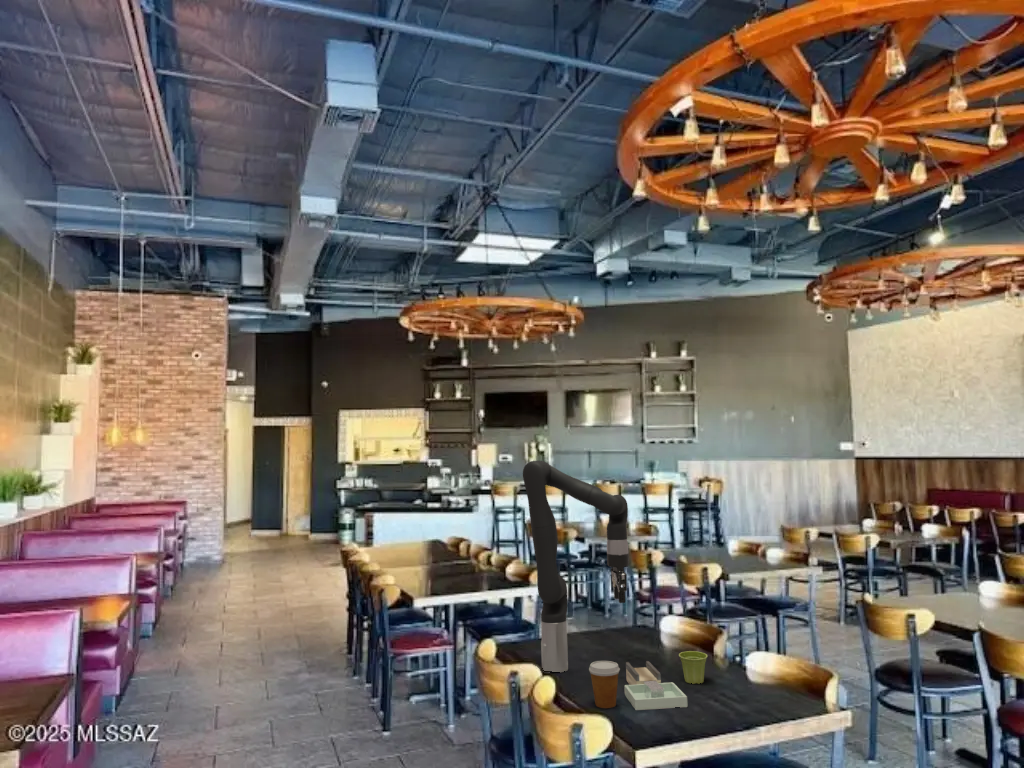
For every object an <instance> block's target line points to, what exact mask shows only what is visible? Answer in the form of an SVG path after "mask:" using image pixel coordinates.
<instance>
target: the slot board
mask: <svg viewBox="0 0 1024 768" xmlns="http://www.w3.org/2000/svg"><path fill="white" fill-rule="evenodd" d="M625 671H626V672H625V673H626V675H625V676H626V682H627V683H628V685H637V684H644V681H657V682H658V683H662V675H661V672H660V671H659V670H658V669H657V668H656V667H655V666H654V665H653V664H652V663H651V662H650V661H649V660H646V661H645V666H644V667H633V666H632V665H631V663H630V662H629V661H626V662H625Z"/></svg>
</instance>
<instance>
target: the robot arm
mask: <svg viewBox="0 0 1024 768" xmlns="http://www.w3.org/2000/svg"><path fill="white" fill-rule="evenodd" d="M522 479H523V484H524V488H525V491H526V497H527V501H528V502H527V503H528V510H529V511H528V512H529V520H530V529H531V537H532V542H533V543H532V544H533V550H534V555H535V562H536V573H537V574H536V575H537V576H536V578H537V579H536V580H537V593H538V596H539V598H540V599H541V600H542V610H541V613H540V623H541V624H540V625H541V627H540V630H541V641H540V649H541V650H540V655H541V669H542V668H543V669H542V671H543V670H544V671H552V672H560V673H564V671H565V672H567V671H568V670H569V659H568V658H569V654H568V650H569V649H568V630H567V629H568V627H567V626H568V625H567V623H568V622H567V614H568V586H567V583H566V582H567V581H565V578H563V576H561V575H560V574H559V572H558V567H557V553H558V538H559V537H558V530H557V523H556V518H555V515H554V513H553V510H552V508H551V506H550V503H549V501H548V497H547V491H546V490H547V489H546V486H548V487H552V488H554V489H558V490H559V491H562V492H564V493H565V494H567V495H568V496H570V497H572V498H573V499H575V500H577V501H578V502H579V501H580V502H581V503H584V504H587V505H589V506H591V507H593V508H596V509H597V510H599V511H601V512H602V513H604V514H606V515H608V523H607V525H606V559H607V560H606V561H607V563H606V565H607V566H608V567H610V573H611V585H612V588H613V597H614V599H615V600H618V603H620V604H623V603H624V604H625V603H626V591H627V590H628V586H627V585H628V583H627V582H628V581H627V580H628V579H627V576H628V575H627V573H626V572H625V570H624V568H625V567H629V565H630V560H629V557H630V555H629V554H630V553H629V543H628V531H627V530H628V529H627V523H628V509H629V508H628V507H629V505H628V501H627V500H626V497H624V496H623V495H621V494H611V493H608V492H605V491H603V490H602V488H600V487H598V486H596V485H593V484H591V483H588V482H586V481H584V480H581V479H578V478H575V477H573V476H571V475H568V474H566V473H564V472H563V471H560V470H559V469H558V468H555V467H554V466H552V465H551V464H549V463H548V462H545V460H533V461H532V460H531V461H528V462H527V463H526V464H524V467H523V470H522ZM544 671H543V672H544Z"/></svg>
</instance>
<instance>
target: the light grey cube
mask: <svg viewBox="0 0 1024 768" xmlns="http://www.w3.org/2000/svg"><path fill="white" fill-rule="evenodd" d="M648 685H660V684H659V683H658V682H657V681H644V695H645V696H646V697H647V698H648V687H647V686H648Z"/></svg>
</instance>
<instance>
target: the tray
mask: <svg viewBox="0 0 1024 768" xmlns="http://www.w3.org/2000/svg"><path fill="white" fill-rule="evenodd" d="M659 684H660V685H661V686H662V687H663V689H664V697H660V698H647V697H646V696H645V695H644V684H637V685H630V684H625V685H624V687H623V688H624V696H625V697H626V699H627V700H628V702H629V703H630V704H631V706H632V707H633V708H634V709H635V711H644V710H645V711H646V710H659V709H660V710H661V709H664V710H665V709H676V708H675V707H680V708H688V696H687V695H686V694H685V693H684V692H683V691H682V690H681V689H680V688H679V687H678V686H677V685H676V684H675V683H674V682H661V683H659Z"/></svg>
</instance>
